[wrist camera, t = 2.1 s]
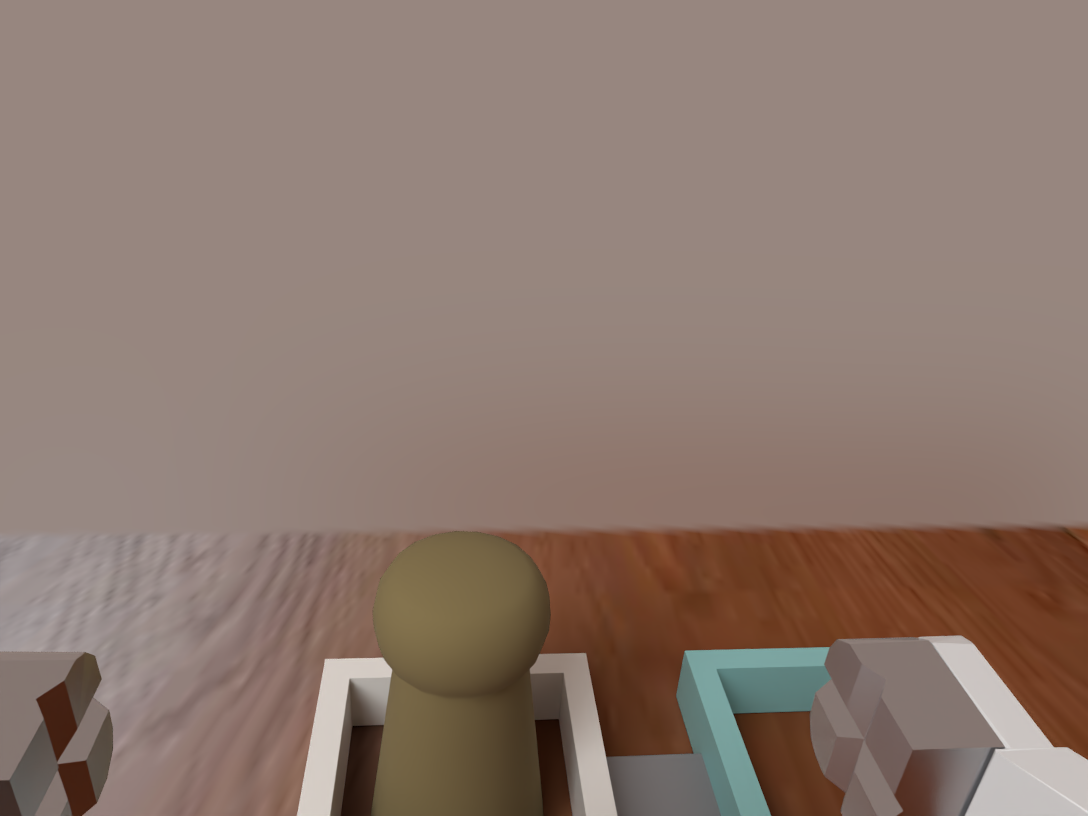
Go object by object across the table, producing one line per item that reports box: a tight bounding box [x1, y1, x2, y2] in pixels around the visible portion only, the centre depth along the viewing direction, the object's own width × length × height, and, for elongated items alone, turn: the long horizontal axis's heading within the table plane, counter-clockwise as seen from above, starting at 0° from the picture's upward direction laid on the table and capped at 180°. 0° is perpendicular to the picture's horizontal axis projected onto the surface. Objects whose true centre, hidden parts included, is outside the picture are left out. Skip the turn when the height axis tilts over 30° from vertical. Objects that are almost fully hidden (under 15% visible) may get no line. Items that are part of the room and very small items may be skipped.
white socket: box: [297, 653, 721, 816], centre depth 29 cm, size 14×10×2 cm
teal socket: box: [676, 647, 831, 816], centre depth 30 cm, size 10×10×2 cm
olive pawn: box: [371, 531, 551, 816], centre depth 26 cm, size 6×6×11 cm
